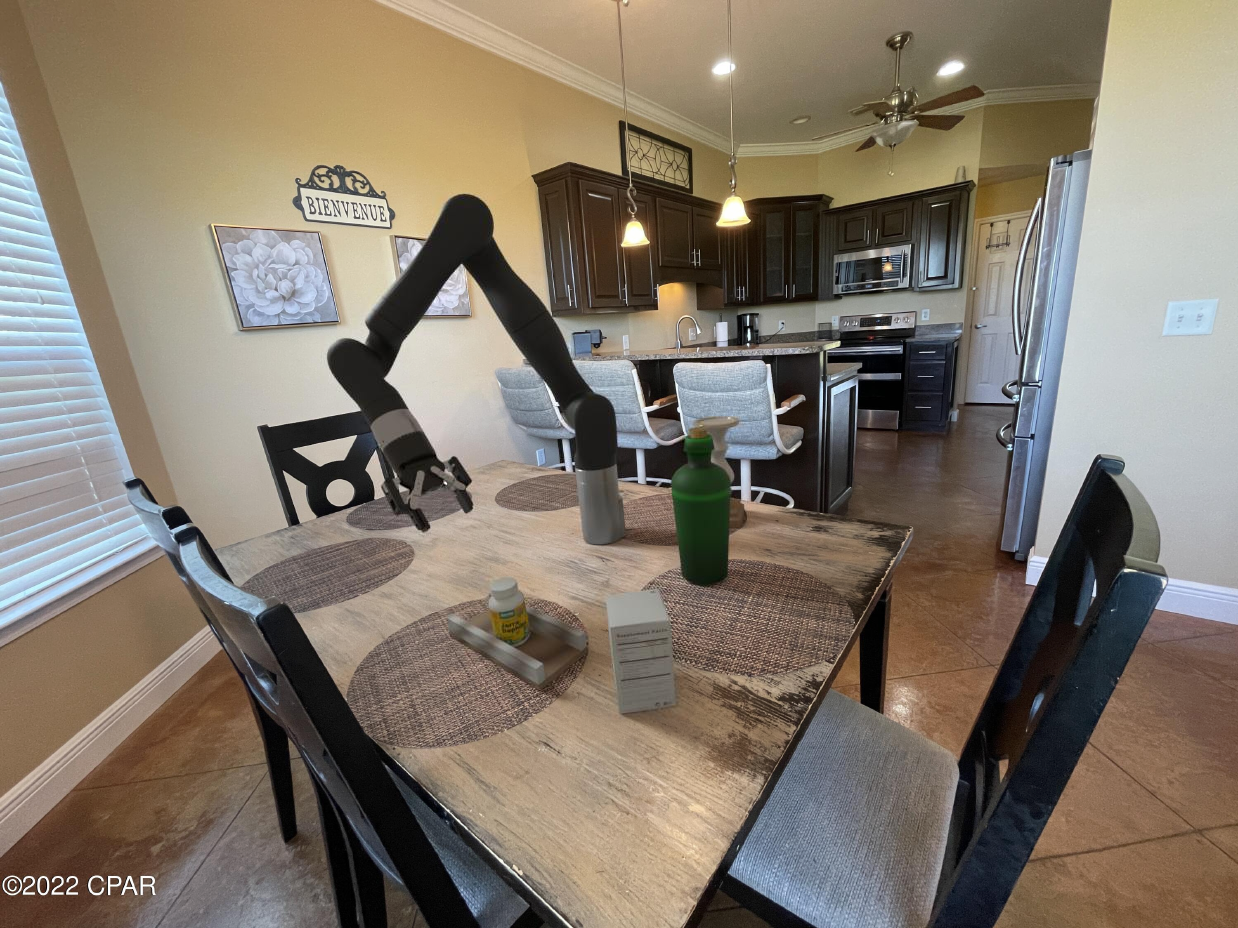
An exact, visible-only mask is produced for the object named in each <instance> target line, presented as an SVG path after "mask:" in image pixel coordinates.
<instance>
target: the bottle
mask: <svg viewBox="0 0 1238 928" xmlns="http://www.w3.org/2000/svg"><path fill="white" fill-rule="evenodd" d="M707 430H708V428H706V427H695V426H694V427H691V428H689V429H688V432H689V434H688V435H685V438H684V445H683V450H682V451H683V452H685V453H686V455H687V463H685V464H684V465H682V466H680V467H679V468H678V469H677V470H676V471H675V473H673V476H672V477H671V480H670V481H671V482H670V489H671V497H672V504H673V512H674V513H673V514H674V521H675V530H676V531H675V532H676V537H677V545H678V553H679V560H680V561H679V563H680V569H681V570H680V571H681V572H680V573H681V576H682V578H683V579H685V580H686V581H687V582H689V583H692V584H695V585H701V586H711V585H715V584H718V583H723V581H724V580H725V579H726V578H727V577H728V576H729V574H728V573H729V553H730V552H729V549H730V538H729V537H730V528H729V521H730V497H731V495H730V490H731V489H732V488H731V485H732V483H731V480H730V476H729V475H728V473H727V472H726V471H725V469H724V468H722V467H720V466H718V465H717V464H715V463H712V462H711V453H712V451H713V450H715V447H714V443H713V438H712V435H710V434H707Z"/></svg>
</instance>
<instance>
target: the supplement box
mask: <svg viewBox="0 0 1238 928" xmlns="http://www.w3.org/2000/svg"><path fill="white" fill-rule="evenodd" d="M660 590H661V589H660V588H655V589H653V588H651V589H644V590H638V591H631V592H623V593H622V592H621V593H615V594H607V595H606V596H605V606H606V618H607V625H608V633H609V634H608V636H609V642H610V643H609V644H610V652H611V653H610V654H611V661H612V668H613V676H614V682H615V691H616V695H617V704H618V705H617V706H618V713H619V714H622V715H624V714H632V713H638V712H643V711H644V712H645V711H651V710H659V709H665V708H672V707H675V706H676V705H677V698H676V697H677V696H676V685H675V671H674V670H675V669H674V667H675V666H674V656H673V653H674V652H673V642H672V641H673V640H672V626H671V619H670V616H669V613H668V610H667V607H666V603H665V601H664V599H663V596H662V593H661V591H660Z"/></svg>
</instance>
